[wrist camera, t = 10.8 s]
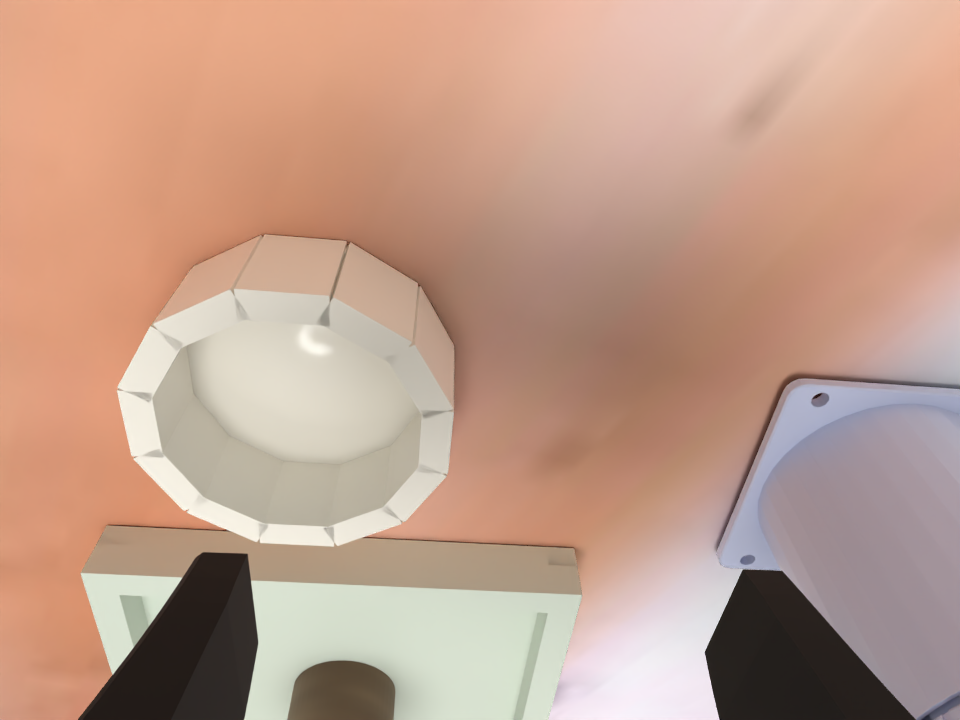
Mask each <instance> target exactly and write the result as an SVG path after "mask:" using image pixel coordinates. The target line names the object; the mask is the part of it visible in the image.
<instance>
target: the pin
mask: <svg viewBox="0 0 960 720" xmlns="http://www.w3.org/2000/svg"><path fill="white" fill-rule="evenodd" d="M394 706H395V686H394V683H393V681H392V680H391V679H390V677H389V676H388V675H387V674H385V673H384V672H383V671H381V670H379V669H378V668H376V667H373V666H371V665H368V664H365V663H361V662H356V661H346V660H341V661H329V662H324V663H320V664H317V665H314V666H312V667H310V668H308V669H307V670H305V671H303V672H302V673H301V674H300V675H299V676H298V678H297V679H296V681H295V683H294V687H293V692H292V698H291V703H290V708H289V713H288V718H287V720H394Z"/></svg>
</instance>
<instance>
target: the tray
mask: <svg viewBox="0 0 960 720" xmlns="http://www.w3.org/2000/svg"><path fill="white" fill-rule="evenodd" d="M202 552H214V553H245V554H248V560H249V569H250V577H251V585H252V593H253V601H254V610H255V618H256V626H257V634H258V648H257V654H256V660H255V665H254V671H253V676H252V682H251V687H250V693H249V698H248V703H247V708H246V713H245V718H244V720H287V718H288V713H289V708H290V703H291V698H292V692H293V687H294V683H295V681H296V679H297V678H298V676H299V675H300V674H301V673H302V672H303V671H305V670H307V669H308V668H310V667H312V666H314V665H317V664H320V663H324V662H329V661H341V660H346V661H356V662H361V663H365V664H368V665H371V666H373V667H376V668H378V669H379V670H381V671H383V672H384V673H385V674H387V675H388V676H389V677H390V679H391V680H392V681H393V683H394V686H395V706H394V720H548V718H549V714H550V711H551V707H552V704H553V700H554V696H555V693H556V689H557V685H558V682H559V678H560V675H561V671H562V667H563V664H564V660H565V656H566V653H567V649H568V646H569V642H570V638H571V635H572V631H573V627H574V624H575V620H576V617H577V613H578V609H579V606H580V602H581V598H582V590H581V584H580V578H579V573H578V567H577V562H576V556H575V550H574V548H558V547H538V546H518V545H497V544H477V543H456V542H436V541H415V540H395V539H375V538H359V539H356V540H354V541H351V542H348V543H345V544H342V545H339V546H337V545H336V544H335V545H334V547H333V546H312V545H291V544H270V543H260V539H259V540H258V541H257V542H255V541H252V540H250V539H248V538H245V537H243V536H241V535H238V534H236V533H233V532H231V531H211V530H191V529H170V528H150V527H129V526H109V525H107V526H106V528H105V530H104V532H103V533H102V535H101V537H100V539H99V541H98V542H97V544H96V546H95V548H94V550H93V551H92V553H91V555H90V557H89V559H88V560H87V562H86V564H85V566H84V568H83V570H82V571H81V576H82V579H83V582H84V586H85V589H86V592H87V595H88V598H89V602H90V605H91V608H92V611H93V614H94V617H95V621H96V624H97V627H98V630H99V633H100V637H101V640H102V643H103V646H104V649H105V652H106V656H107V659H108V662H109V665H110V668H111V672H112V675H113V674H114V672H115V671H116V670H117V669H118V667H119V666H120V665H121V663H122V662H123V661H124V659H125V658H126V657H127V656H128V654H129V653H130V652H131V650H132V649H133V648H134V646H135V645H136V644H137V642H138V641H139V639H140V638H141V637H142V635H143V634H144V632H145V631H146V630H147V628H148V627H149V626H150V624H151V623H152V621H153V620H154V619H155V617H156V616H157V614H158V613H159V612H160V610H161V609H162V607H163V606H164V604H165V603H166V601H167V600H168V599H169V597H170V596H171V594H172V593H173V591H174V590H175V588H176V587H177V585H178V584H179V582H180V581H181V579H182V578H183V576H184V575H185V573H186V572H187V570H188V568H189V567H190V565H191V564H192V562H193V561H194V559H195V557H197V556H198V555H200V554H201V553H202Z"/></svg>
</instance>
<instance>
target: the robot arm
mask: <svg viewBox="0 0 960 720" xmlns="http://www.w3.org/2000/svg"><path fill="white" fill-rule="evenodd" d="M819 393H822V395H821V396H820V397H818V398H816V399H812V398H813V397H814V396H815V395H817V394H819ZM716 555H717V557H718V560H719V562H720V564H721V565H722V566H724V567H728V568H742V569H763V570H743V571H742V573H741V575H740V577H739V579H738V582H737V584H736V586H735V588H734V590H733V592H732V595H731V597H730V599H729V601H728V603H727V605H726V607H725V610H724V612H723V614H722V616H721V618H720V620H719V623H718V625H717V627H716V629H715V631H714V633H713V636H712V638H711V640H710V642H709V644H708V646H707V649H706V651H705V655H706V660H707V665H708V670H709V675H710V680H711V684H712V689H713V694H714V698H715V702H716V707H717V711H718V715H719V719H720V720H960V389H951V388H937V387H922V386H908V385H894V384H879V383H865V382H851V381H836V380H822V379H807V378H803V379H797V380H795V381H792V382H791V383H789V384H788V385H787V386H786V387H785V389H784V390H783V393H782V395H781V397H780V400H779V402H778V405H777V407H776V409H775V412H774V414H773V417H772V419H771V422H770V424H769V426H768V429H767V431H766V434H765V436H764V438H763V441H762V443H761V446H760V448H759V450H758V453H757V455H756V458H755V460H754V463H753V465H752V467H751V470H750V472H749V475H748V477H747V479H746V482H745V484H744V487H743V489H742V492H741V494H740V496H739V499H738V501H737V504H736V506H735V508H734V511H733V513H732V516H731V518H730V520H729V523H728V525H727V528H726V530H725V533H724V535H723V537H722V540H721V542H720V545H719V547H718V549H717V554H716ZM773 570H781V571H773ZM257 648H258V634H257V626H256V618H255V610H254V601H253V593H252V585H251V577H250V569H249V560H248V554H245V553H214V552H202V553H201V554H200V555H198V556H197V557H195V559H194V561H193V562H192V564H191V565H190V567H189V568H188V570H187V572H186V573H185V575H184V576H183V578H182V579H181V581H180V582H179V584H178V585H177V587H176V588H175V590H174V591H173V593H172V594H171V596H170V597H169V599H168V600H167V601H166V603H165V604H164V606H163V607H162V609H161V610H160V612H159V613H158V614H157V616H156V617H155V619H154V620H153V621H152V623H151V624H150V626H149V627H148V628H147V630H146V631H145V632H144V634H143V635H142V637H141V638H140V639H139V641H138V642H137V644H136V645H135V646H134V648H133V649H132V650H131V652H130V653H129V654H128V656H127V657H126V658H125V659H124V661H123V662H122V663H121V665H120V666H119V667H118V669H117V670H116V671H115V672H114V674H113V675H112V676H111V678H110V679H109V680H108V682H107V683H106V684H105V686H104V687H103V688H102V689H101V691H100V692H99V693H98V695H97V696H96V697H95V699H94V700H93V701H92V702H91V704H90V705H89V706H88V707H87V709H86V710H85V711H84V712H83V714H82V715H81V716H80V717H79V719H78V720H244V718H245V713H246V708H247V703H248V698H249V693H250V687H251V682H252V676H253V671H254V665H255V660H256V654H257Z"/></svg>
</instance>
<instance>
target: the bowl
mask: <svg viewBox="0 0 960 720" xmlns="http://www.w3.org/2000/svg"><path fill="white" fill-rule="evenodd" d="M117 388H118V390H117V393H118V398H119V402H120V407H121V411H122V415H123V420H124V424H125V429H126V433H127V438H128V442H129V447H130V451H131V456H134V458H133V459H134V460H135V461H136V462H137V463H138V464H139V465H140V466H141V467H142V468H143V469H144V470H145V471H146V472H147V474H148V475H149V476H150V477H151V478H152V479H153V480H154V481H155V482H156V483H157V484H158V485H159V486H160V487H161V488H162V489H163V490H164V491H165V492H166V493H167V494H168V495H169V496H170V497H171V498H172V499H173V500H174V501H175V502H176V503H177V504H178V505H179V506H180V508H181V509H182V510H183V511H185V510H187V509H188V511H187V513H188V514H191V515H193V516H196V517H198V518H200V519H203V520H205V521H207V522H210V523H212V524H214V525H217V526H219V527H222V528H224V529H226V530H229V531H231V532H233V533H236V534H238V535H241V536H243V537H245V538H248V539H250V540H252V541H255V542H257V541H258V540H259V539H260V543H270V544H291V545H312V546H333V547H334V545H335V544H336V545H337V546H339V545H342V544H345V543H348V542H351V541H354V540H356V539H359V538H362V537H365V536H368V535H371V534H374V533H377V532H380V531H382V530H385V529H388V528H391V527H394V526H397V525H400V524H402V521H403V522H405V521H406V520H407V519H408V518H409V517H410V516H411V515H412V513H413V512H414V511H415V510H416V509H417V508H418V507H419V506H420V505H421V504H422V503H423V501H424V500H425V499H426V498H427V497H428V496H429V495H430V494H431V493H432V492H433V491H434V490H435V488H436V487H437V486H438V485H439V484H440V483H441V482H442V481H443V480H444V479H445V478H446V476H447V474H448V467H449V457H450V447H451V437H452V427H453V417H454V344H453V343H452V341H451V339H450V337H449V335H448V334H447V332H446V330H445V328H444V327H443V325H442V323H441V321H440V319H439V318H438V316H437V314H436V312H435V311H434V309H433V307H432V305H431V303H430V302H429V300H428V298H427V296H426V295H425V293H424V291H423V289H422V287H421V286H419V287H418V283H417V282H415V281H413V280H412V279H410V278H409V277H407V276H405V275H404V274H402V273H400V272H399V271H397V270H395V269H394V268H392V267H390V266H389V265H387V264H386V263H384V262H382V261H381V260H379V259H377V258H376V257H374V256H372V255H371V254H369V253H367V252H366V251H364V250H363V249H361V248H359V247H358V246H356V245H354V244H353V243H351V242H350V243H349V245H348V246H347V241H342V240H329V239H317V238H305V237H292V236H280V235H268V234H264V236H263V237H262V235H260V236H258V237H255V238H253V239H251V240H249V241H247V242H245V243H242V244H240V245H238V246H236V247H234V248H232V249H229V250H227V251H225V252H223V253H221V254H219V255H217V256H214V257H212V258H210V259H208V260H206V261H204V262H201V263H199V264H197V265H195V266H193V268H191V269H190V271H189V272H188V274H187V275H186V277H185V278H184V279H183V281H182V282H181V284H180V285H179V286H178V288H177V289H176V291H175V292H174V293H173V295H172V296H171V298H170V299H169V301H168V302H167V303H166V305H165V306H164V308H163V309H162V310H161V312H160V313H159V315H158V316H157V318H156V319H155V320H154V322H153V323H152V325H151V326H150V328H149V330H148V332H147V333H146V335H145V337H144V339H143V341H142V343H141V345H140V346H139V348H138V350H137V352H136V354H135V356H134V357H133V359H132V361H131V363H130V365H129V367H128V369H127V370H126V372H125V374H124V376H123V378H122V380H121V382H120V383H119V385H118V387H117Z"/></svg>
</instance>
